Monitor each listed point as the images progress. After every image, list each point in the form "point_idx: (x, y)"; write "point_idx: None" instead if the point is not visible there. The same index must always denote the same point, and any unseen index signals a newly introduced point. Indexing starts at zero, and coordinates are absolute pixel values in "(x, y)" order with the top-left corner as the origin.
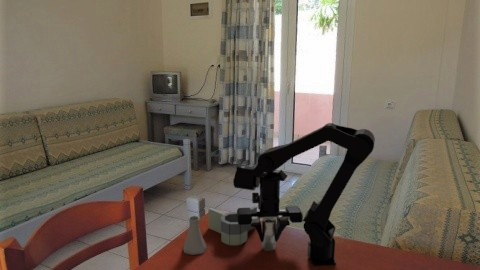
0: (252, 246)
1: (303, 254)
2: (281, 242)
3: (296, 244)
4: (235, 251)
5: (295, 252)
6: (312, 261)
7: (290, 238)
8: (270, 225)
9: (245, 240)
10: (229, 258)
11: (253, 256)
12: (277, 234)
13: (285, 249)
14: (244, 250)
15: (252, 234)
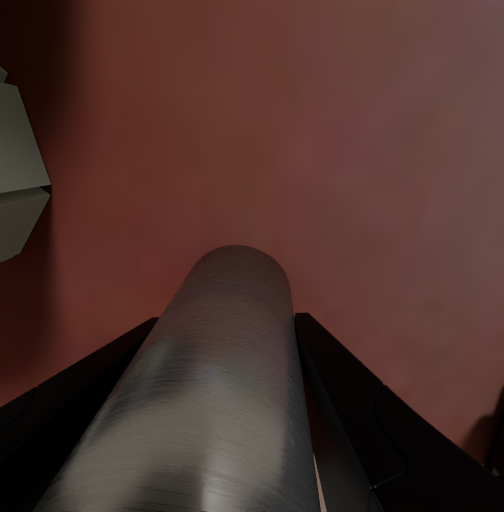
0: (114, 276)
1: (475, 380)
2: (359, 223)
3: (487, 258)
4: (13, 329)
5: (427, 358)
6: (493, 470)
7: (478, 146)
8: None
9: (31, 214)
10: (6, 389)
11: None
12: (319, 466)
13: (364, 322)
14: (68, 322)
15: (73, 53)
